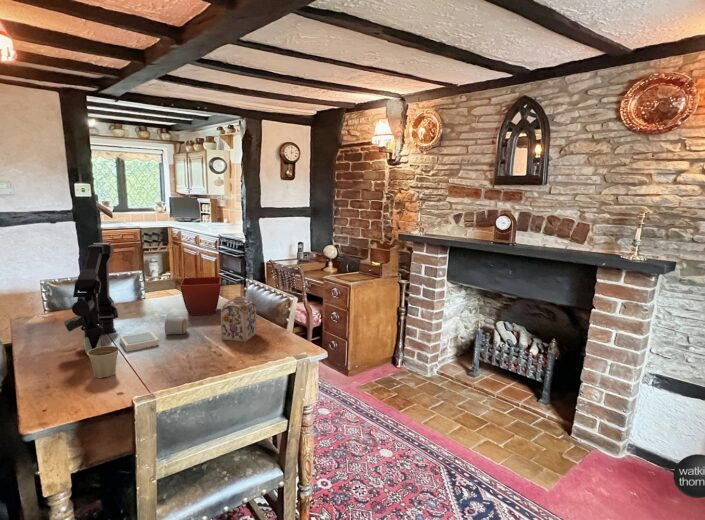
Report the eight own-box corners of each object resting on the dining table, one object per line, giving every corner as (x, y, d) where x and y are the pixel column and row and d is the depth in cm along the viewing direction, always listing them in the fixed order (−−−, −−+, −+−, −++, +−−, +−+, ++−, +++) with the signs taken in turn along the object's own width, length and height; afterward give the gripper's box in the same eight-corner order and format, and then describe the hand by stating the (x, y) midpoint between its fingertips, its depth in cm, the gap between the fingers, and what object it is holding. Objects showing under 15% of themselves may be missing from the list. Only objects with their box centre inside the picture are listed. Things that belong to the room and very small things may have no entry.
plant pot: (184, 307, 224) (183, 277, 221) (221, 306, 230) (220, 276, 227) (181, 318, 206) (179, 285, 203) (221, 316, 212) (220, 283, 209)
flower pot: (97, 368, 147) (96, 345, 145) (125, 368, 148) (124, 345, 146) (83, 380, 138) (81, 356, 136) (112, 380, 138) (111, 355, 137)
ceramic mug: (184, 336, 181) (183, 319, 180) (164, 336, 180) (163, 319, 179) (189, 328, 192) (189, 312, 191) (171, 329, 191) (170, 312, 189)
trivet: (120, 342, 172) (119, 336, 171) (151, 336, 179) (150, 330, 179) (126, 351, 163) (125, 345, 162) (158, 345, 170) (158, 338, 170)
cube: (84, 348, 164) (83, 336, 163) (98, 346, 167) (98, 334, 167) (86, 352, 160) (85, 340, 160) (101, 349, 164) (100, 337, 163)
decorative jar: (245, 342, 176) (245, 301, 173) (220, 340, 178) (219, 299, 175) (257, 333, 187) (257, 295, 184) (233, 331, 190) (233, 293, 187)
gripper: (62, 306, 163) (65, 344, 166) (67, 318, 149) (70, 359, 152) (95, 302, 170) (97, 338, 173) (102, 313, 156) (105, 352, 159)
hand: (92, 346), depth 164 cm, fingers closed on cube, 5 cm apart
